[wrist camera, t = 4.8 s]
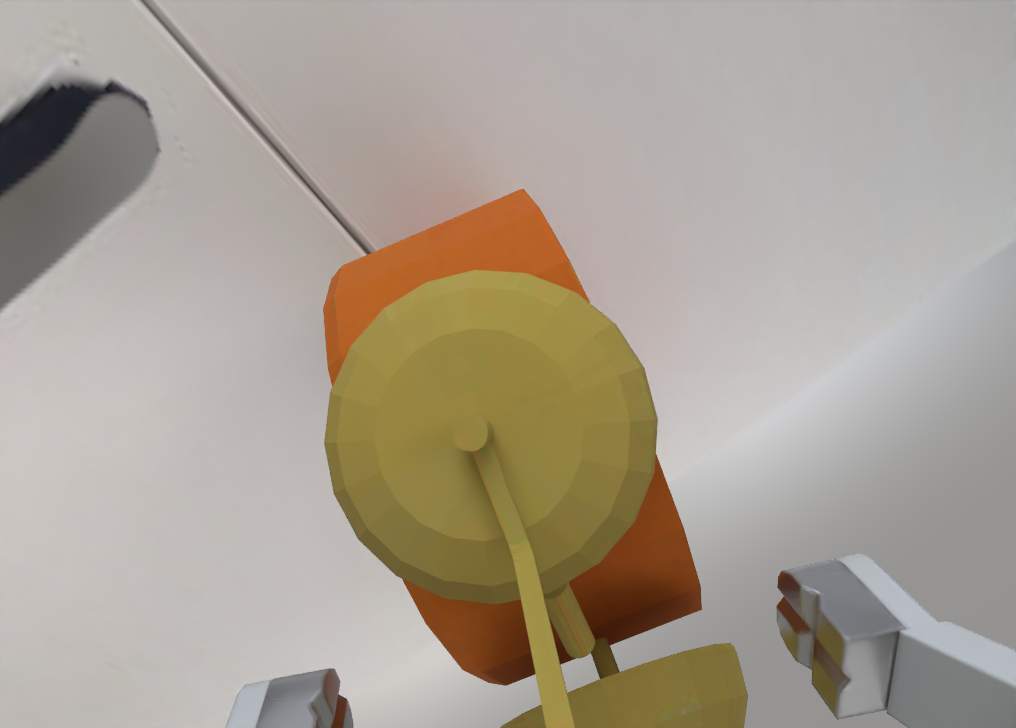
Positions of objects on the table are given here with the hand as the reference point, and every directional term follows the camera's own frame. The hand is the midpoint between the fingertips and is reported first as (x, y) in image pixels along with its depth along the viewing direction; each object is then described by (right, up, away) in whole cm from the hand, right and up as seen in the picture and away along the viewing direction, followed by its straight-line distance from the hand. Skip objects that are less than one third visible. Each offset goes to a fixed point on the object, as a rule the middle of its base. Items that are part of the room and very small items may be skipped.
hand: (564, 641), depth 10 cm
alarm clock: (-2, +6, +15) cm, 16 cm away
